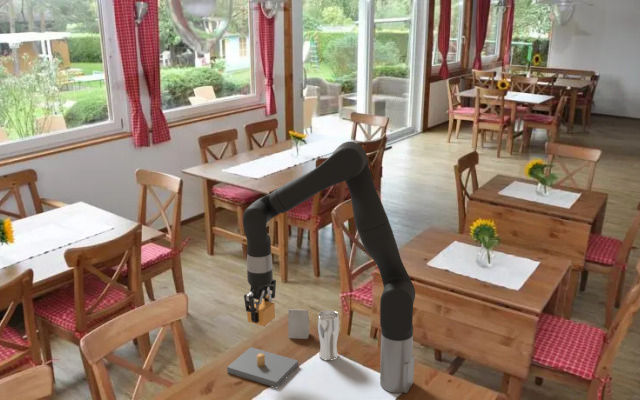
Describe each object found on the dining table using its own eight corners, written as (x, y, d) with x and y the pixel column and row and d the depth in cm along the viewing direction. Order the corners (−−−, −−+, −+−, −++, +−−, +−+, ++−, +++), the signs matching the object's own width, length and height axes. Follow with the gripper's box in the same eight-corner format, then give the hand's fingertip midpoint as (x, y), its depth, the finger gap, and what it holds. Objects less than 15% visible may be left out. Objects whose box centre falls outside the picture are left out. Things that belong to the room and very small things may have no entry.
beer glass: (339, 350, 196) (339, 309, 191) (338, 362, 189) (338, 320, 185) (318, 349, 196) (318, 309, 192) (316, 361, 190) (316, 319, 185)
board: (298, 366, 187) (297, 350, 186) (276, 387, 176) (276, 371, 175) (250, 352, 195) (249, 337, 194) (227, 372, 184) (226, 357, 182)
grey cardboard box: (307, 339, 203) (307, 312, 200) (288, 338, 204) (287, 311, 201) (309, 333, 207) (308, 307, 204) (290, 332, 207) (289, 306, 204)
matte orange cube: (274, 317, 182) (274, 303, 181) (264, 326, 177) (263, 311, 176) (258, 313, 185) (258, 298, 183) (247, 321, 180) (247, 306, 178)
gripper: (256, 278, 168) (258, 331, 173) (283, 260, 180) (284, 310, 185) (235, 273, 172) (237, 324, 177) (262, 256, 184) (264, 305, 189)
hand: (261, 317), depth 181 cm, fingers closed on matte orange cube, 6 cm apart
